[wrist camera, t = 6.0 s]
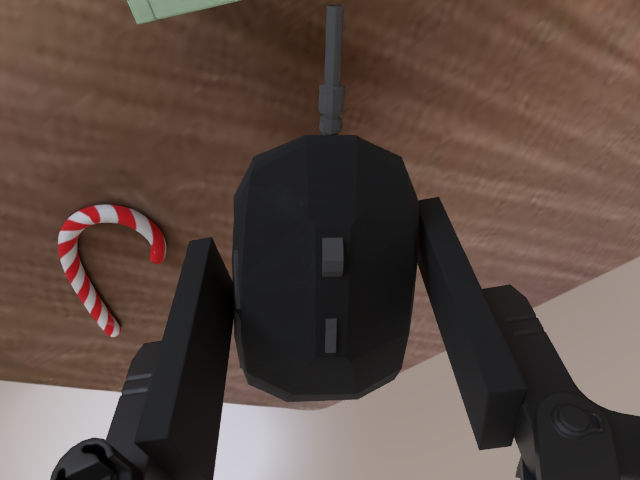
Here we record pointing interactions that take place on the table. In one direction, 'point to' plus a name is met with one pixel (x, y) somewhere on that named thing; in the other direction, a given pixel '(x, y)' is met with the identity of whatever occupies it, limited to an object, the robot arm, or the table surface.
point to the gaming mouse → (324, 257)
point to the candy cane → (73, 263)
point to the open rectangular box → (169, 8)
